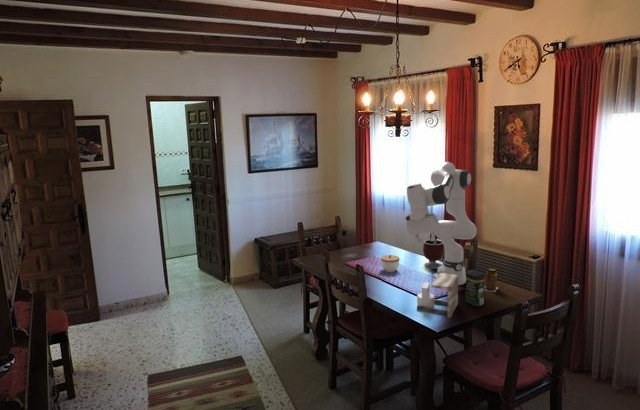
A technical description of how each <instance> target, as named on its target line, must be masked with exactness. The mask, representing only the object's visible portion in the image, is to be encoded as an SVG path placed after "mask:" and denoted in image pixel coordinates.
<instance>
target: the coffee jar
mask: <svg viewBox="0 0 640 410" xmlns="http://www.w3.org/2000/svg"><path fill="white" fill-rule="evenodd" d="M465 273H466V286H465V287H466V288H465V296H464V299H465V300H464V301H465V303H466V304H469V305H471V306H472V307H473V306H474V307H481V306H483V305H484V303H485V298H484V297H485V296H484V294H485V293H484V290H483V288H484V284H485V282H486V275H485V273H483V272H480V271H477V270H474V269H469V270H467V271H466V272H465Z"/></svg>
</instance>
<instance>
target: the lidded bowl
mask: <svg viewBox="0 0 640 410" xmlns="http://www.w3.org/2000/svg"><path fill="white" fill-rule="evenodd" d="M380 265H381V267H382V269H383V270H384V271H385V272H387V273H394V272H396V270H398V268H399V266H400V257H399V256H398V255H393V254H386V255H382V256H381V257H380Z"/></svg>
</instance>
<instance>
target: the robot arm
mask: <svg viewBox="0 0 640 410" xmlns="http://www.w3.org/2000/svg"><path fill="white" fill-rule="evenodd" d="M430 181H431V184H432V185H433V186H430V187H423V185H422V183H420V182H418V183H417V182H416V183H413V184H410V185H408V186H407V188H406V195H407V202H408V204H409V208H410V209H409V210H410V213H409V214H408V215H406V216H405V217H404V221H405V222H406V223H405V225H406V230H407V233H408V234H409V235H414V238H415V239H416V242H417V243H422V238H421V237H420V234H426V233H430V235H431V237H430V238H429V240H431V241H435V240H436V237H437V238H438V239H439V240H440V241H442V243H443V245H444V258H443V259H442V261H443V262H442V263H441V264H442V265H441V266H440V267H438V268H437V271H436V273H433V277H434V278H435V279H436V278H437V277H438V275H439V274H440V273H445V274H454V275H458V286H460V285H462V286H463V285H464V284H466V283H467V281H466V273H467V272H466V268H465V261H464V260H465V259H464V248H463V246H462V245H461V244H460V243H458V242H456V241H455V239H456V240H472V239H474V238H475V237H476V235H477V232H478V228H477V225H475V223H473V222H472V221H471V220H470V218H469V217H468V215H467V212H466V188H468V187H469V186H470V185H471V183H472V182H471V181H472V175H471V172H470V171H469V170H467V169H457V168H456V166H455V165H454V163H452V162H451V161H444V162H442V163H440V164H439V165H438V166H437V167H436V168H435V169H434V170H433V171H432V173H431V175H430ZM445 204H446V205H445ZM436 205H437V206H438V205H445V210H446V213H448V214H450V215H451V216H453V217H454V218H455V220H446V219H443V220H438V218H437V215H436V214H435V213H433V212H431V213H430V212H429V208H428V207H431V206H436Z"/></svg>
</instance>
